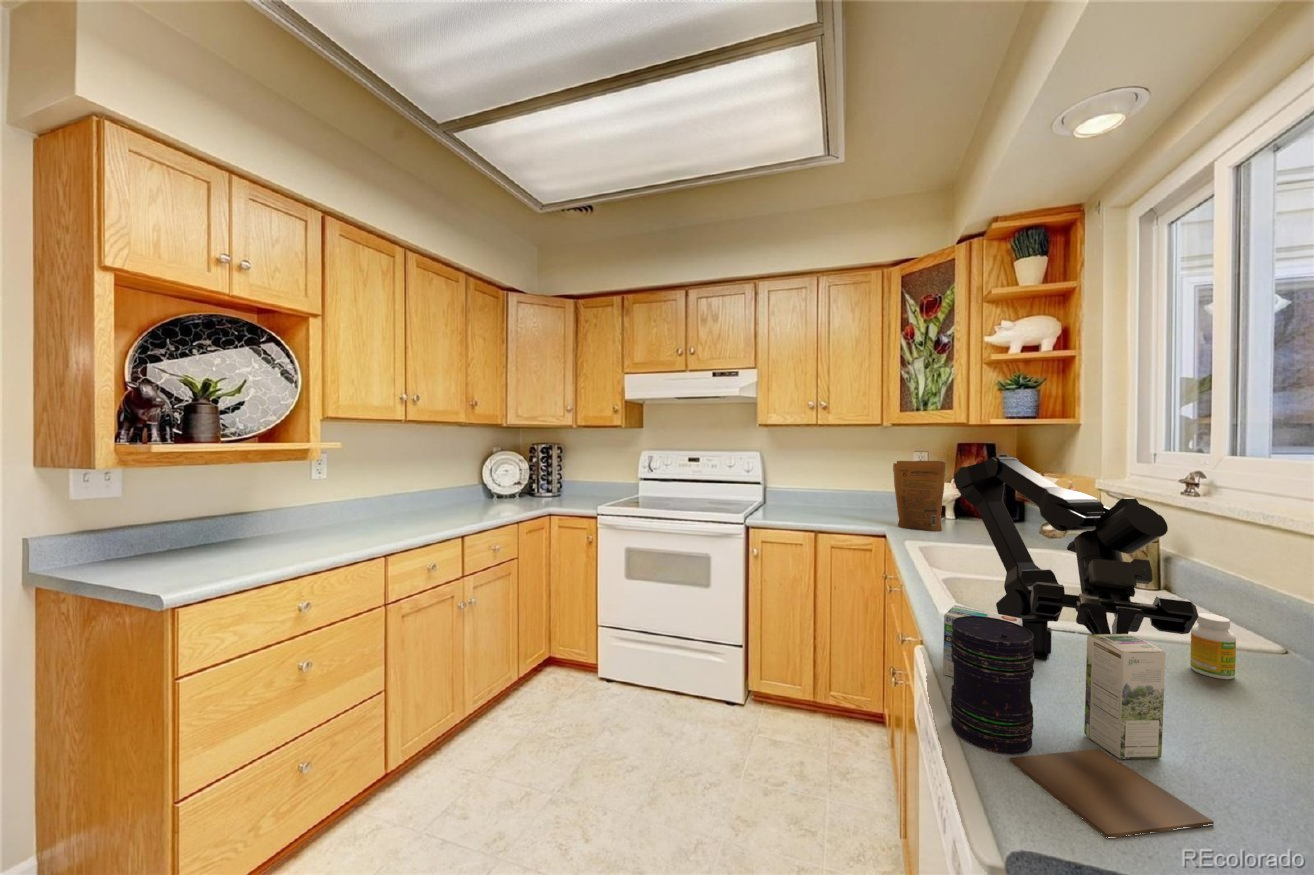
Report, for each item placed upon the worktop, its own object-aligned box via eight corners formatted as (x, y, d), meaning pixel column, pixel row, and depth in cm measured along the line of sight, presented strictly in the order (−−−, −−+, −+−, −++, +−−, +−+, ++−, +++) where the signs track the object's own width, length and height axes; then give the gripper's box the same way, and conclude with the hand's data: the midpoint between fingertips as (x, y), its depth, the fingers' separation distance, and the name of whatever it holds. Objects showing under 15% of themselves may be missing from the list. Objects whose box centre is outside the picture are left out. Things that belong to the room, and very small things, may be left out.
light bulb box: (941, 675, 93) (942, 613, 92) (952, 662, 98) (953, 603, 97) (1015, 696, 85) (1016, 629, 85) (1022, 681, 90) (1023, 618, 90)
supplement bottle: (1225, 682, 89) (1227, 625, 89) (1183, 669, 94) (1184, 614, 94) (1241, 676, 91) (1242, 620, 91) (1199, 663, 96) (1200, 609, 96)
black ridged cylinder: (937, 714, 80) (938, 615, 80) (1004, 714, 80) (1005, 615, 80) (974, 755, 70) (975, 642, 70) (1051, 756, 70) (1052, 643, 70)
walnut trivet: (1107, 839, 56) (1107, 834, 56) (1010, 761, 69) (1010, 757, 69) (1213, 825, 58) (1213, 821, 58) (1099, 752, 71) (1099, 748, 71)
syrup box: (1123, 734, 75) (1124, 631, 74) (1164, 760, 69) (1166, 649, 69) (1083, 735, 75) (1084, 632, 74) (1121, 762, 69) (1123, 650, 68)
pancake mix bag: (944, 533, 208) (945, 461, 208) (892, 528, 219) (892, 459, 219) (947, 530, 214) (947, 460, 213) (895, 525, 225) (895, 458, 224)
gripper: (1032, 531, 85) (1040, 622, 75) (1194, 543, 75) (1225, 650, 66) (1027, 568, 92) (1033, 657, 82) (1175, 584, 82) (1200, 686, 73)
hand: (1116, 661), depth 76 cm, fingers closed
